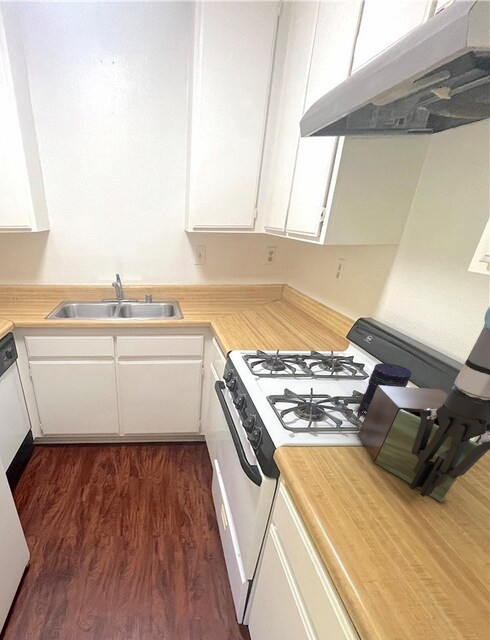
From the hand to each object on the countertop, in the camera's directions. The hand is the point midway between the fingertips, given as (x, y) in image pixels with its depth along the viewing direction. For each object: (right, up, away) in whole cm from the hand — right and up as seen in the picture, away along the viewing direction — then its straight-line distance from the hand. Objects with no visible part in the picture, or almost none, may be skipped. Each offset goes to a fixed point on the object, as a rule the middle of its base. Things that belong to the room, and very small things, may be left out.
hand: (420, 490), depth 73 cm
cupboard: (+8, +8, +20) cm, 23 cm away
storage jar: (+12, +18, +37) cm, 43 cm away
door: (+1, 0, +8) cm, 8 cm away
